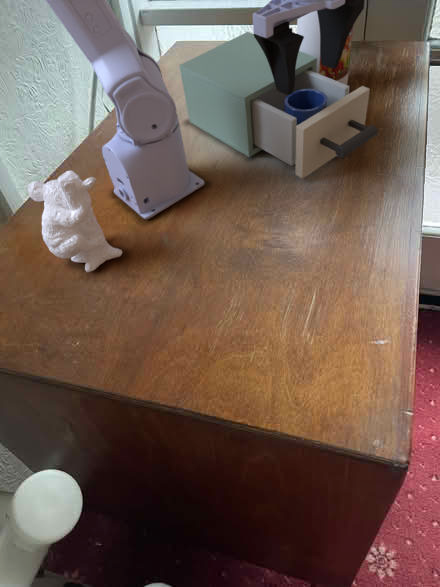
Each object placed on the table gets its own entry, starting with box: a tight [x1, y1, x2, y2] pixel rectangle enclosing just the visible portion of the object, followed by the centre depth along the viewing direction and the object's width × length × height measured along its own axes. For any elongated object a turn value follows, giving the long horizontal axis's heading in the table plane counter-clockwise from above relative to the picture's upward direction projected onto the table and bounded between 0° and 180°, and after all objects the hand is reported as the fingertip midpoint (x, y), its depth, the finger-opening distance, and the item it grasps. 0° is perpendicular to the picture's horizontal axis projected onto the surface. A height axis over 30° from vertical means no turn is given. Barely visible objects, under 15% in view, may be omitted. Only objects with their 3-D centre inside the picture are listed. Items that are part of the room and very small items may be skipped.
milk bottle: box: [296, 11, 354, 85], centre depth 64 cm, size 8×8×20 cm
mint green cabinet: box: [178, 31, 317, 158], centre depth 65 cm, size 14×13×9 cm
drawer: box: [250, 69, 379, 179], centre depth 59 cm, size 16×11×7 cm
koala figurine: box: [27, 170, 123, 273], centre depth 49 cm, size 8×7×12 cm
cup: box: [284, 89, 328, 125], centre depth 59 cm, size 5×5×5 cm
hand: (307, 78), depth 55 cm, fingers open, 7 cm apart
